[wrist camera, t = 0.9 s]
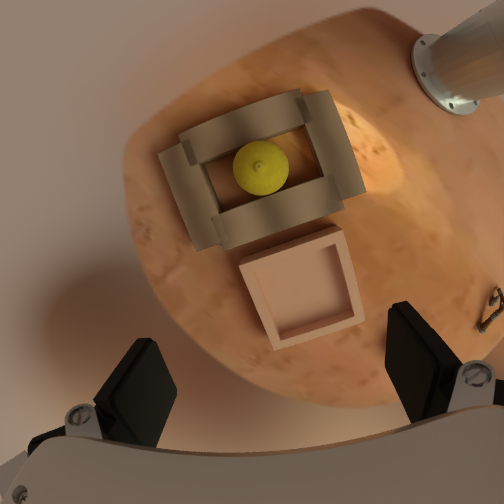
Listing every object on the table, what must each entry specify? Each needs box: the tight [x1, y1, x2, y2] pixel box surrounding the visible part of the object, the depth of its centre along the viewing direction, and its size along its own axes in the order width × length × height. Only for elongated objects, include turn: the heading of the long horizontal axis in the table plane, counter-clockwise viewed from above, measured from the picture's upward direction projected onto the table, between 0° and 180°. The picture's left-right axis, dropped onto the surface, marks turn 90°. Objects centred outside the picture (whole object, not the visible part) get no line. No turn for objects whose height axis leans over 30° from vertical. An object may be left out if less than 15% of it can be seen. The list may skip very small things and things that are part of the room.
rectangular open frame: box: [158, 89, 366, 252], centre depth 29 cm, size 20×14×2 cm
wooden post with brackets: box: [477, 288, 504, 334], centre depth 32 cm, size 2×8×4 cm, turn 165°
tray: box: [239, 225, 365, 351], centre depth 32 cm, size 12×12×3 cm
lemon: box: [233, 140, 289, 195], centre depth 27 cm, size 6×6×8 cm
